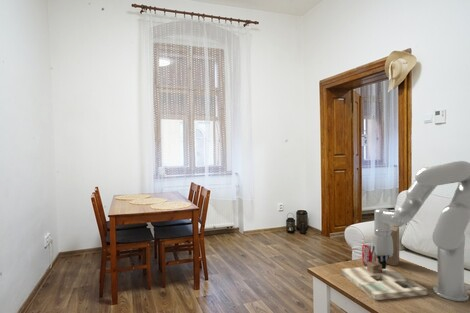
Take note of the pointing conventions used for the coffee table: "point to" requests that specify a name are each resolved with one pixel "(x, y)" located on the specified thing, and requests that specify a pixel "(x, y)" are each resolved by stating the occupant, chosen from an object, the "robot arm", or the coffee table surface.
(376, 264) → the walnut block
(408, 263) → the coffee table surface
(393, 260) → the wooden block
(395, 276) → the board
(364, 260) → the soda can
